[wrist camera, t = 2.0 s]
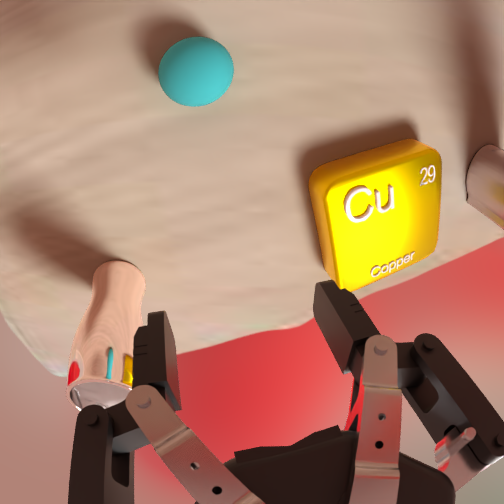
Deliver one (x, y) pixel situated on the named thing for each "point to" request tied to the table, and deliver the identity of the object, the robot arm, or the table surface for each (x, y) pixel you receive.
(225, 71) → the ball
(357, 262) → the element tile
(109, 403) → the silver metal tumbler
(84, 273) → the table surface
